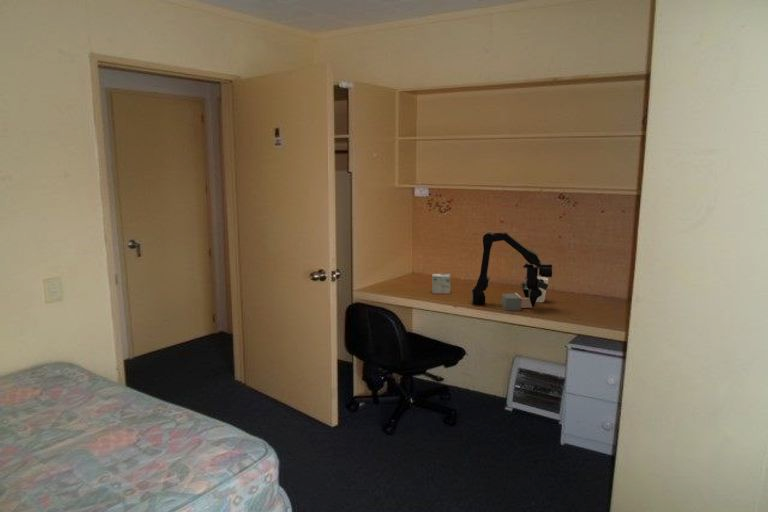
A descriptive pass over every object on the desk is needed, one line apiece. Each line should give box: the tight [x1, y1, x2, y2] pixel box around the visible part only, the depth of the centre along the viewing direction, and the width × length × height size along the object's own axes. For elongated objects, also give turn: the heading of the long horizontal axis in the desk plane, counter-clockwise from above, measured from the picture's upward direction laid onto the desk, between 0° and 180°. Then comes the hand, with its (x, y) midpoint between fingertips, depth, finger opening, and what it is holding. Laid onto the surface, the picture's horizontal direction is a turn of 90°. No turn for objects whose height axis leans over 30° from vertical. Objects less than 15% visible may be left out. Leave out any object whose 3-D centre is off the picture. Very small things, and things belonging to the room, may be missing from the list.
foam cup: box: [536, 276, 549, 303], centre depth 307 cm, size 10×9×13 cm
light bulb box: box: [431, 273, 451, 295], centre depth 326 cm, size 11×7×11 cm, turn 84°
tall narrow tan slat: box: [521, 297, 534, 309], centre depth 293 cm, size 10×2×5 cm, turn 91°
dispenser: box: [500, 292, 523, 312], centre depth 293 cm, size 8×10×7 cm
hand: (530, 304), depth 294 cm, fingers open, 9 cm apart
